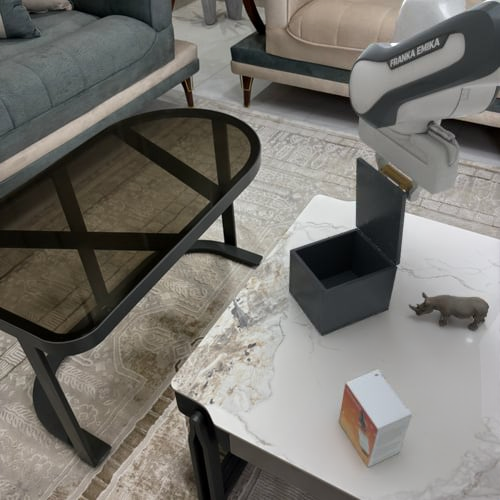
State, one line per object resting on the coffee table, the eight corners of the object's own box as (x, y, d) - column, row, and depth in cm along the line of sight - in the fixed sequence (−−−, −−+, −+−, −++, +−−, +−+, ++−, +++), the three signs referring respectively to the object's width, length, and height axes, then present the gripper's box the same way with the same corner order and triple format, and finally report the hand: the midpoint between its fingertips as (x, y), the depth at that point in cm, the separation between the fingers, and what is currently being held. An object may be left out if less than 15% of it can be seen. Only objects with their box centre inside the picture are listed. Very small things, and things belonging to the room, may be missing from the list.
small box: (337, 421, 76) (343, 381, 69) (369, 408, 77) (378, 367, 71) (367, 469, 70) (377, 429, 63) (400, 453, 72) (413, 413, 65)
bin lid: (402, 195, 75) (428, 184, 76) (356, 158, 84) (380, 148, 85) (396, 265, 85) (419, 255, 87) (355, 226, 94) (376, 217, 95)
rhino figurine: (405, 307, 93) (411, 284, 89) (483, 315, 91) (492, 292, 87) (406, 323, 90) (412, 300, 86) (487, 333, 88) (496, 309, 84)
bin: (321, 336, 89) (325, 293, 82) (288, 291, 97) (289, 249, 90) (388, 309, 93) (397, 267, 86) (351, 269, 101) (357, 227, 95)
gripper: (479, 134, 68) (455, 216, 77) (388, 82, 82) (376, 156, 91) (442, 144, 66) (422, 227, 75) (355, 89, 80) (347, 164, 89)
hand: (396, 187), depth 83 cm, fingers closed on bin lid, 6 cm apart
